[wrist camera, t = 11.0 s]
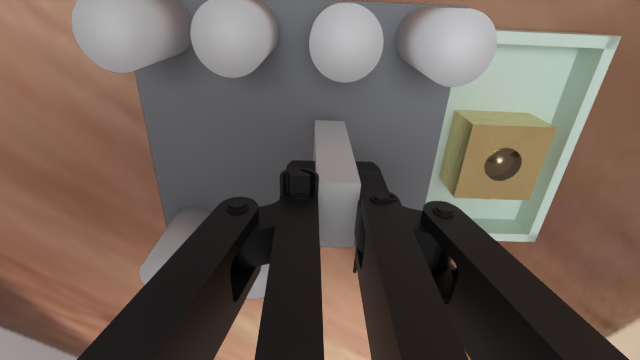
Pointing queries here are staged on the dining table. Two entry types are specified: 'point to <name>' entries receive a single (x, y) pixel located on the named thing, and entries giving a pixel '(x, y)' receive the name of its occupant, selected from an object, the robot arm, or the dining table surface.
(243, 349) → the dining table surface
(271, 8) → the board
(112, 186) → the dining table surface
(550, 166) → the tray
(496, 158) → the gold block with knob
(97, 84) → the dining table surface
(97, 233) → the dining table surface
